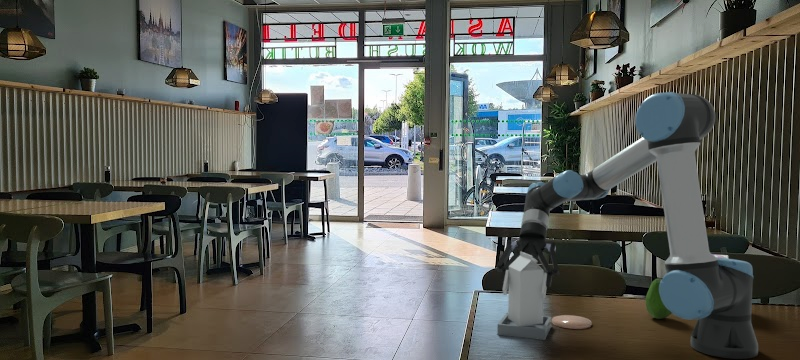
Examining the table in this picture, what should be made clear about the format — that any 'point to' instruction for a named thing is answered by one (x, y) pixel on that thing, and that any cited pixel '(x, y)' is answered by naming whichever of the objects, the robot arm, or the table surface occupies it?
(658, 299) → the avocado
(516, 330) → the square tray
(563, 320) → the peach flat disc
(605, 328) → the table surface
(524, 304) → the milk carton
